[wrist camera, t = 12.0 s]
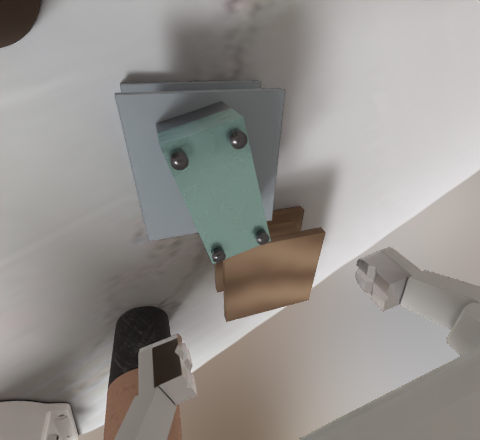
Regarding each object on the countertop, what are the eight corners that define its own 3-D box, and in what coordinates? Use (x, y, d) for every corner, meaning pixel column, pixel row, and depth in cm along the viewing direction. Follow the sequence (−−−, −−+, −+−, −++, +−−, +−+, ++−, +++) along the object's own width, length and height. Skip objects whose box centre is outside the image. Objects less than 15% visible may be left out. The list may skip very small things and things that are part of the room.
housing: (250, 209, 25) (273, 245, 20) (201, 228, 24) (214, 269, 20) (222, 101, 19) (246, 119, 14) (155, 123, 18) (160, 149, 14)
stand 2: (289, 270, 41) (308, 300, 37) (215, 287, 38) (226, 321, 34) (300, 206, 35) (325, 232, 30) (212, 220, 32) (224, 251, 27)
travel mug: (101, 329, 36) (70, 552, 20) (141, 297, 35) (142, 505, 19) (144, 344, 41) (145, 536, 25) (180, 317, 40) (206, 498, 24)
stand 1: (251, 193, 31) (271, 220, 26) (147, 207, 28) (148, 241, 23) (257, 80, 24) (285, 89, 20) (120, 83, 21) (114, 95, 17)
